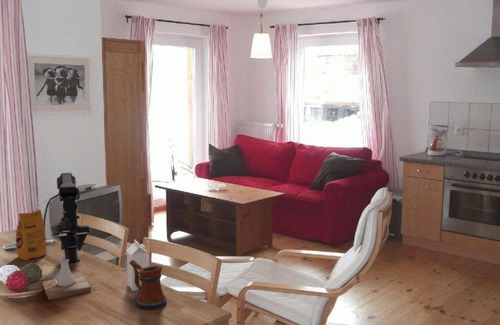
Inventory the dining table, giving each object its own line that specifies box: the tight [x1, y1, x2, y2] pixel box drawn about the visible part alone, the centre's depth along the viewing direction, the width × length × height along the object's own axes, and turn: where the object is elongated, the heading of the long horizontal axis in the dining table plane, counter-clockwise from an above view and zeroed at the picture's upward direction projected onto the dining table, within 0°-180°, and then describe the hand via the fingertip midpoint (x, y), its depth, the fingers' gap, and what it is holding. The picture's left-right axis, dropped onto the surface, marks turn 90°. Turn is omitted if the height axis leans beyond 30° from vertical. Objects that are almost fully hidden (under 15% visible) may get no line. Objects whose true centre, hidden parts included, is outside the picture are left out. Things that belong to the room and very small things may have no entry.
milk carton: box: [126, 239, 150, 292], centre depth 213 cm, size 7×7×19 cm
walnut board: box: [44, 273, 92, 301], centre depth 213 cm, size 16×16×2 cm
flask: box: [56, 258, 76, 287], centre depth 212 cm, size 7×7×10 cm
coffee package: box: [15, 209, 47, 261], centre depth 250 cm, size 10×12×22 cm
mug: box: [129, 260, 168, 310], centre depth 200 cm, size 18×12×15 cm, turn 47°
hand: (72, 251), depth 223 cm, fingers open, 9 cm apart
